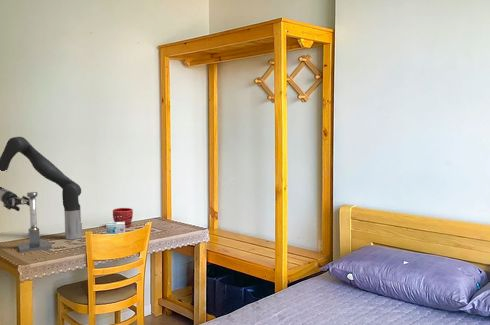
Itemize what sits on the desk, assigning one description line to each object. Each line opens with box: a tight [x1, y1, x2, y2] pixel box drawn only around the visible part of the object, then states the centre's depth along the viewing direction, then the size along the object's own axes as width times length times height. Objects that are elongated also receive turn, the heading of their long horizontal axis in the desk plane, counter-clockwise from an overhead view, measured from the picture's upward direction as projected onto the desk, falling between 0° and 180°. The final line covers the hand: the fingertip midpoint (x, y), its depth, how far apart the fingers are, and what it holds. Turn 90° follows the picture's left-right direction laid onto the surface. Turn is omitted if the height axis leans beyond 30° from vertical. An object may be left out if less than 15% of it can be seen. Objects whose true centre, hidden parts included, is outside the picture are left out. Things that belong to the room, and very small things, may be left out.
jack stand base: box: [17, 227, 53, 253], centre depth 259 cm, size 16×16×10 cm
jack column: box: [26, 191, 38, 230], centre depth 258 cm, size 5×5×24 cm
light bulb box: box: [105, 221, 126, 234], centre depth 272 cm, size 11×7×11 cm, turn 105°
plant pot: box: [112, 207, 134, 229], centre depth 312 cm, size 13×13×12 cm
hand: (25, 207), depth 266 cm, fingers open, 8 cm apart
